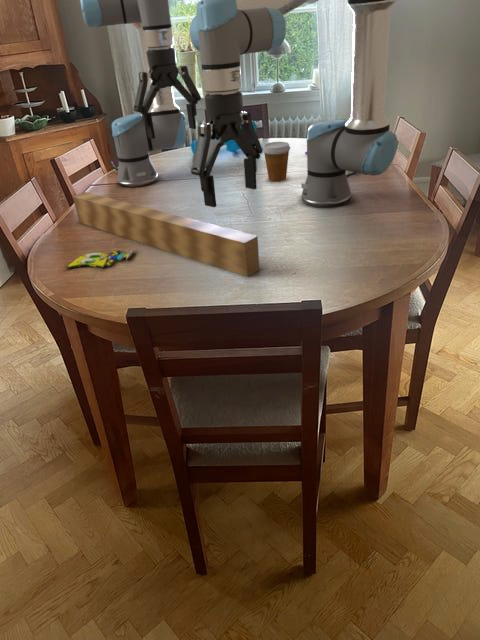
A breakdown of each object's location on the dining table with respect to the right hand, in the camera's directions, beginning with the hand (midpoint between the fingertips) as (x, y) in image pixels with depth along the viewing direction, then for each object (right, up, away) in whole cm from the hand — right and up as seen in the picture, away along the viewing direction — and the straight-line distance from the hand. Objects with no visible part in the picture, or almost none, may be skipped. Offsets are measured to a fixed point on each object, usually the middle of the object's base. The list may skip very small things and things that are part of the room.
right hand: (231, 196), depth 106 cm
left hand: (-17, +26, +31) cm, 44 cm away
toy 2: (-5, +46, +105) cm, 115 cm away
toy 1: (-34, -12, +19) cm, 41 cm away
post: (-21, -6, +26) cm, 34 cm away
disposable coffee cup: (+15, +23, +66) cm, 71 cm away
